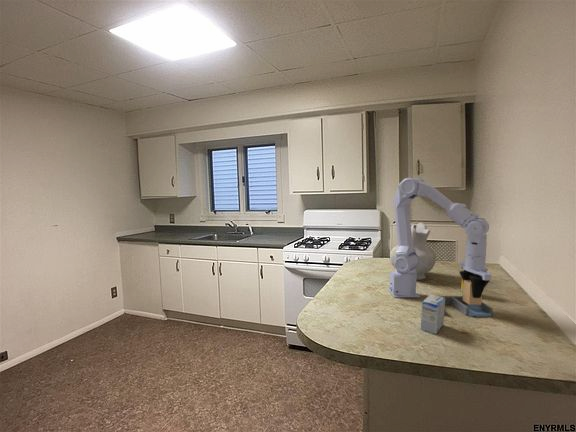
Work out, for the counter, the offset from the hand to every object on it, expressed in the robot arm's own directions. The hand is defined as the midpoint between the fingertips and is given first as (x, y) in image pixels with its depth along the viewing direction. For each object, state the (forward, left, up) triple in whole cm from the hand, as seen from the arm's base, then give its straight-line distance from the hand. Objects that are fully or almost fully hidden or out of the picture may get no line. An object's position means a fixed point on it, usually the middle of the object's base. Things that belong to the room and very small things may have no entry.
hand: (472, 295), depth 107 cm
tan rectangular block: (0, 0, -2) cm, 3 cm away
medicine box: (-19, -13, -6) cm, 24 cm away
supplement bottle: (+7, +15, -6) cm, 18 cm away
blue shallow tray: (-4, 0, -5) cm, 7 cm away
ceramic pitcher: (-6, +38, -6) cm, 39 cm away
